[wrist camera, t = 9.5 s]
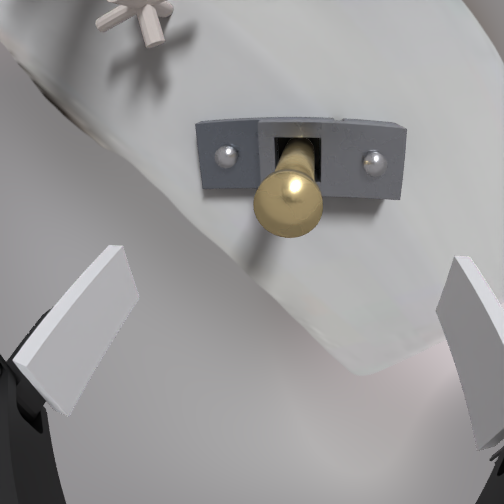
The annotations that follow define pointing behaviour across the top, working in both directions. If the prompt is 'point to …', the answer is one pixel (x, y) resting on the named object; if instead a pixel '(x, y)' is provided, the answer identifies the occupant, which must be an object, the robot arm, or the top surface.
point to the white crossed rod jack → (147, 10)
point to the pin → (290, 193)
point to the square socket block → (330, 153)
